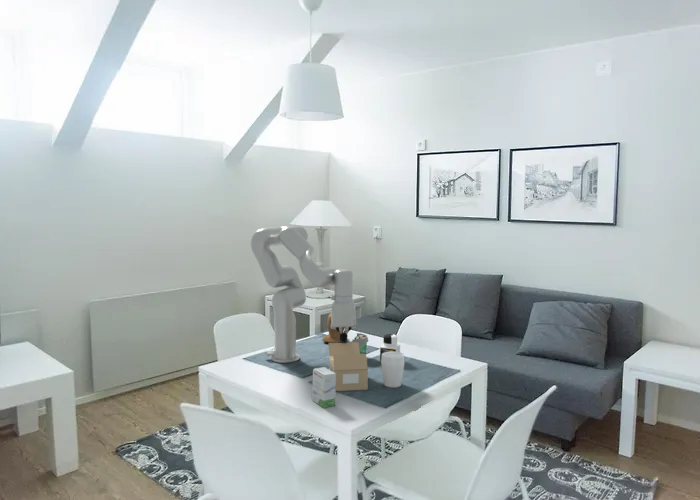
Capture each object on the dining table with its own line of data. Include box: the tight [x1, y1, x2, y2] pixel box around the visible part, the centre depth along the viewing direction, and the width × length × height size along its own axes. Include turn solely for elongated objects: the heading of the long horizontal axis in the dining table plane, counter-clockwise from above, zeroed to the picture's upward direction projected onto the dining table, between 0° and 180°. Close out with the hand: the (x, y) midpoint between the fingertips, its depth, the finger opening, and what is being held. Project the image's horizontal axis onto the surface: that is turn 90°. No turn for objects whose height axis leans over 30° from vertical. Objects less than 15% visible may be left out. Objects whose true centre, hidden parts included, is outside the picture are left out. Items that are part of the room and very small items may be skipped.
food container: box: [351, 332, 369, 355], centre depth 243 cm, size 12×6×10 cm, turn 168°
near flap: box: [333, 353, 368, 371], centre depth 203 cm, size 13×6×1 cm
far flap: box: [328, 341, 360, 356], centre depth 223 cm, size 13×6×1 cm
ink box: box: [311, 366, 337, 409], centre depth 190 cm, size 9×5×12 cm, turn 33°
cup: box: [380, 351, 405, 389], centre depth 209 cm, size 9×9×12 cm
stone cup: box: [321, 311, 349, 344], centre depth 271 cm, size 15×12×15 cm
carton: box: [328, 356, 369, 392], centre depth 212 cm, size 13×18×8 cm
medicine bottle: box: [379, 333, 401, 363], centre depth 238 cm, size 7×7×12 cm
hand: (343, 342), depth 225 cm, fingers closed
